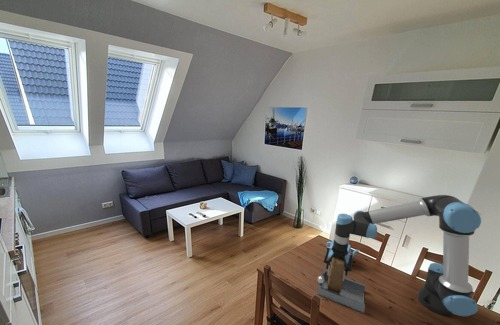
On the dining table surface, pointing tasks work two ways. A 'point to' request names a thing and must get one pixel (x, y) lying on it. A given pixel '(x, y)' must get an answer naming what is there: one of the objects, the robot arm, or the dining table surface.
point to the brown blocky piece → (336, 274)
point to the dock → (344, 292)
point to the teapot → (347, 250)
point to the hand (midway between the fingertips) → (335, 276)
